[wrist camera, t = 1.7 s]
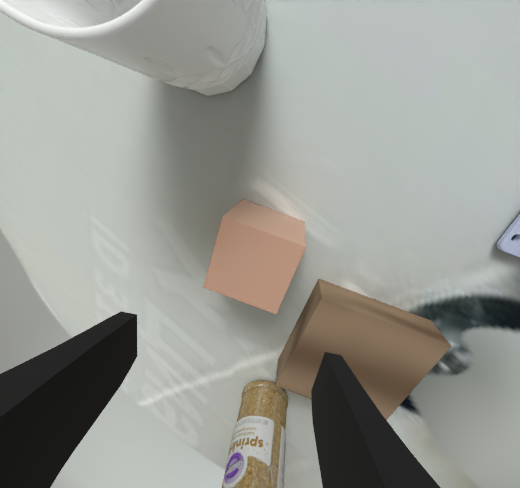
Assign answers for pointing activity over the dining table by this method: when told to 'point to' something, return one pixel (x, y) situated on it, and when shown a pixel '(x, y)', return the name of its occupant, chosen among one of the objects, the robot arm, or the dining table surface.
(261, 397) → the sprinkles bottle
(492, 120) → the dining table surface
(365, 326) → the walnut box
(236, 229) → the terracotta block
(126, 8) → the white cup
